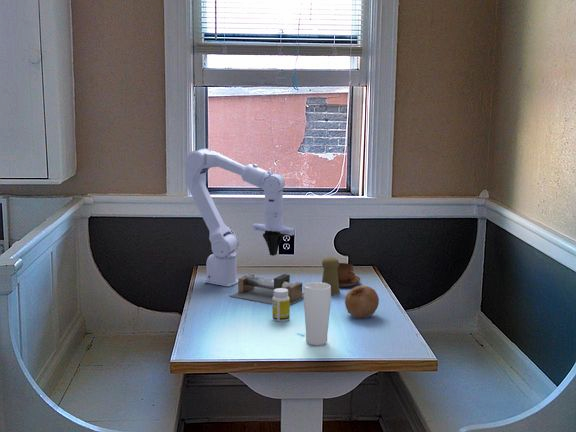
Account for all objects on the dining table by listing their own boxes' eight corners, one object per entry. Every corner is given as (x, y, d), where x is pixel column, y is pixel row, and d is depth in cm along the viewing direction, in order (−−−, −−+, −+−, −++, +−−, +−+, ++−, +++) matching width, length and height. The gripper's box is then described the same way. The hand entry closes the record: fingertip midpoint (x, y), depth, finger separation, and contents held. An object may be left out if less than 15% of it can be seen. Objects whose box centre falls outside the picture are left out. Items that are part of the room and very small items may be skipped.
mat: (229, 296, 222) (229, 295, 222) (254, 285, 234) (254, 284, 234) (286, 307, 212) (286, 306, 212) (309, 295, 224) (309, 294, 224)
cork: (340, 290, 230) (340, 256, 228) (339, 295, 224) (340, 260, 222) (320, 289, 230) (321, 255, 228) (319, 294, 225) (320, 260, 223)
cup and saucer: (366, 282, 239) (366, 264, 238) (349, 291, 229) (349, 272, 228) (334, 277, 245) (334, 259, 244) (316, 285, 235) (316, 267, 234)
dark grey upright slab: (273, 297, 219) (273, 278, 218) (283, 292, 224) (284, 273, 223) (279, 298, 218) (279, 279, 217) (289, 293, 223) (289, 274, 222)
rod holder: (238, 292, 225) (238, 277, 224) (249, 287, 230) (249, 272, 229) (291, 302, 216) (291, 286, 215) (302, 297, 221) (302, 281, 220)
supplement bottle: (291, 317, 203) (292, 288, 202) (286, 322, 199) (286, 293, 197) (275, 315, 205) (275, 286, 203) (269, 320, 200) (269, 291, 199)
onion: (358, 331, 202) (351, 304, 196) (342, 312, 209) (335, 286, 204) (387, 316, 204) (382, 289, 198) (370, 298, 212) (365, 272, 206)
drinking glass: (301, 338, 187) (302, 282, 184) (328, 337, 188) (329, 281, 185) (304, 348, 180) (305, 289, 178) (331, 347, 181) (333, 289, 178)
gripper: (247, 212, 229) (247, 254, 232) (286, 217, 222) (286, 260, 224) (259, 208, 235) (259, 249, 238) (298, 213, 228) (297, 255, 230)
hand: (273, 254), depth 231 cm, fingers closed
